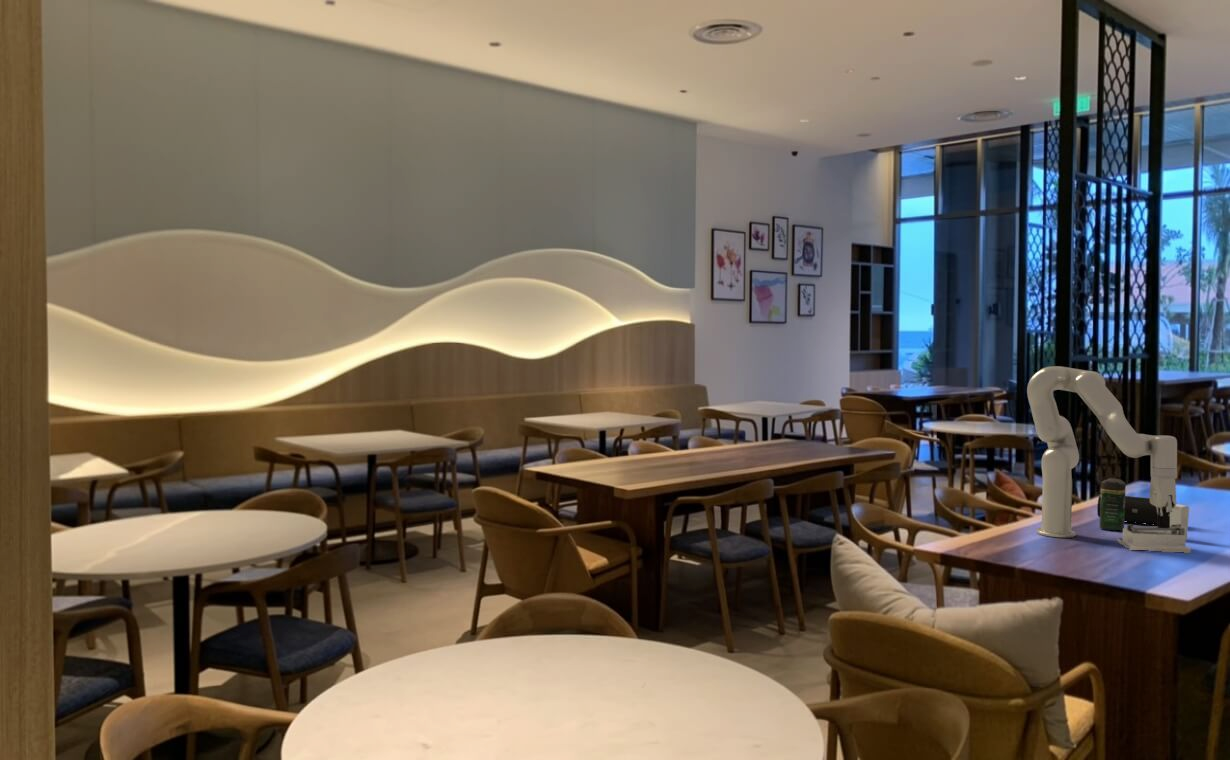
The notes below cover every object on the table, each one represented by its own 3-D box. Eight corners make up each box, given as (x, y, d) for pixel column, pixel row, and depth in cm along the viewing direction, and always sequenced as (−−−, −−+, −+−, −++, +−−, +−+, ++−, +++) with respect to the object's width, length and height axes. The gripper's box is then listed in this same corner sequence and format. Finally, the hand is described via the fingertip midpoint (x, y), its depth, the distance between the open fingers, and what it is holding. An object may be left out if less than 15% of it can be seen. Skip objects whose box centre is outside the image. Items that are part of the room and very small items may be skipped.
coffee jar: (1122, 532, 327) (1124, 481, 326) (1098, 530, 332) (1099, 479, 331) (1125, 528, 335) (1127, 478, 334) (1101, 525, 340) (1103, 476, 339)
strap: (1129, 528, 306) (1129, 525, 306) (1178, 529, 303) (1178, 525, 303) (1132, 530, 303) (1132, 527, 303) (1182, 531, 300) (1182, 527, 300)
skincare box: (1162, 538, 318) (1164, 503, 318) (1170, 536, 320) (1171, 502, 320) (1180, 541, 313) (1181, 506, 312) (1188, 540, 315) (1189, 505, 314)
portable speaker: (1096, 521, 349) (1097, 495, 348) (1101, 517, 356) (1101, 492, 356) (1174, 529, 333) (1174, 502, 333) (1177, 525, 341) (1177, 499, 341)
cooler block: (1117, 542, 311) (1118, 520, 311) (1175, 545, 308) (1175, 523, 307) (1130, 550, 299) (1131, 528, 299) (1190, 553, 296) (1191, 530, 295)
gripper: (1142, 469, 310) (1142, 523, 310) (1160, 475, 295) (1160, 531, 295) (1166, 470, 308) (1166, 523, 309) (1185, 476, 293) (1185, 532, 294)
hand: (1163, 527), depth 302 cm, fingers closed
